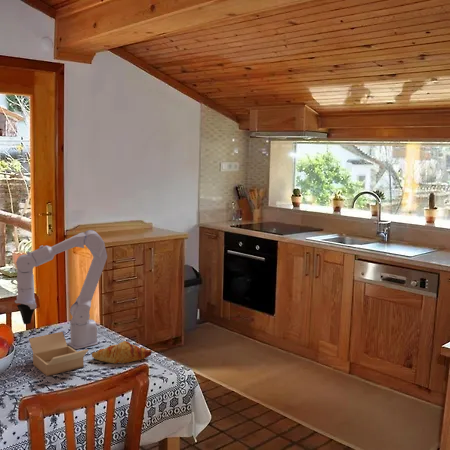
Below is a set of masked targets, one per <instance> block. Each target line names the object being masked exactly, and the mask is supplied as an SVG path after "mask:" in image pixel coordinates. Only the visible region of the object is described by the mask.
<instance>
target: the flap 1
mask: <svg viewBox="0 0 450 450" xmlns="http://www.w3.org/2000/svg"><path fill="white" fill-rule="evenodd" d="M28 342H29V344H30V347H31V350H32V353H33V354H35V353H39V352H44V351H48V350H52V349H57V348H61V347H65V346H68V344H67V341H66V337H65V335H64V332H63V331H59V332H54V333H50V334H45V335H44V334H43V335H39V336H35V337H32V338H28ZM33 354H32V355H33Z"/></svg>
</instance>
